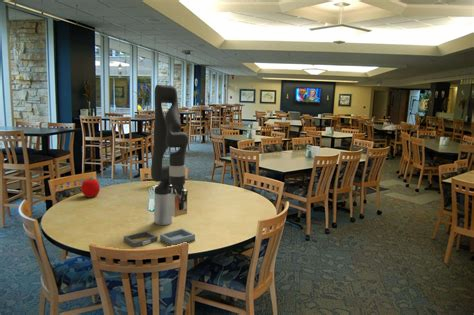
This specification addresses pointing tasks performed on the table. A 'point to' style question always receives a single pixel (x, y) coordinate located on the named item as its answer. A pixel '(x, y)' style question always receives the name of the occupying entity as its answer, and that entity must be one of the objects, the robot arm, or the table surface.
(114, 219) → the table surface
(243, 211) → the table surface
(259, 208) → the table surface
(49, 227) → the table surface
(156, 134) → the robot arm
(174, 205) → the small box
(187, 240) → the tray
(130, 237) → the clip holder
